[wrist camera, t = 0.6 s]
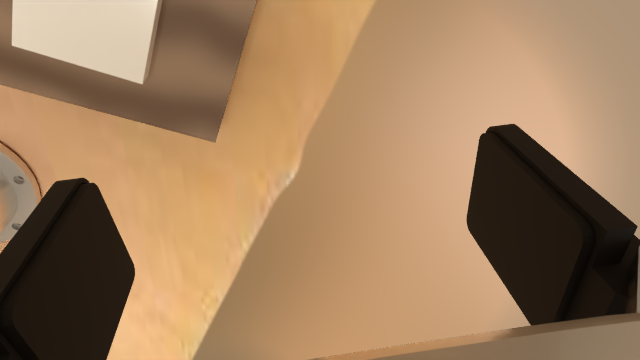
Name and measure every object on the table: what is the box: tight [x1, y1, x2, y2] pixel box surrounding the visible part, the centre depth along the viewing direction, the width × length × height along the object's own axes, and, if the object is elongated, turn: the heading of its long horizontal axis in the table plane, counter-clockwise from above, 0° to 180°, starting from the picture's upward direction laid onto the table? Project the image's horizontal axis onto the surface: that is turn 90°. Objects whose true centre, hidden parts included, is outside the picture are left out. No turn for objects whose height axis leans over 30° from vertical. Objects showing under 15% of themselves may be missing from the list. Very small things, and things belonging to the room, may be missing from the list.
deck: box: [0, 0, 257, 142], centre depth 30 cm, size 16×16×4 cm
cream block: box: [12, 0, 162, 84], centre depth 27 cm, size 8×8×2 cm
